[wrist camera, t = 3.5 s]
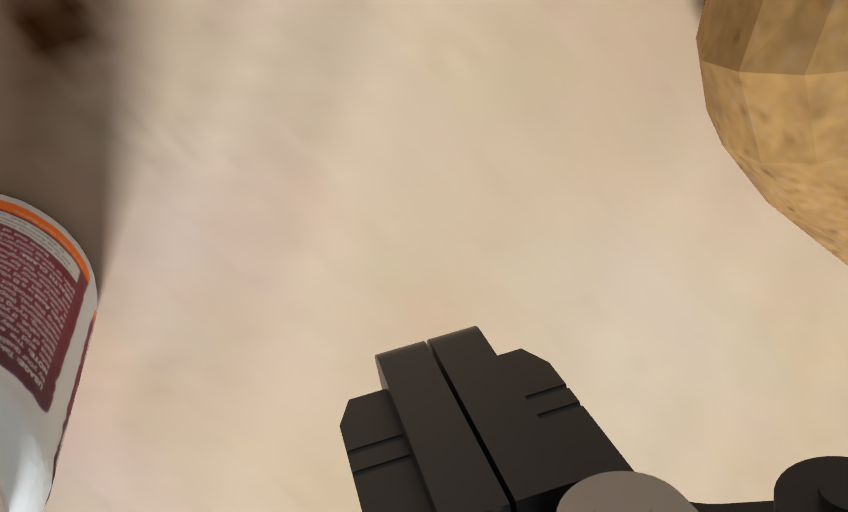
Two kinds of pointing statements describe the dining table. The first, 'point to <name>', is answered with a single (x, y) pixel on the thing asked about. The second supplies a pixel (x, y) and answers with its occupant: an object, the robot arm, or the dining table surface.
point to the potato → (783, 104)
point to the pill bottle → (38, 347)
